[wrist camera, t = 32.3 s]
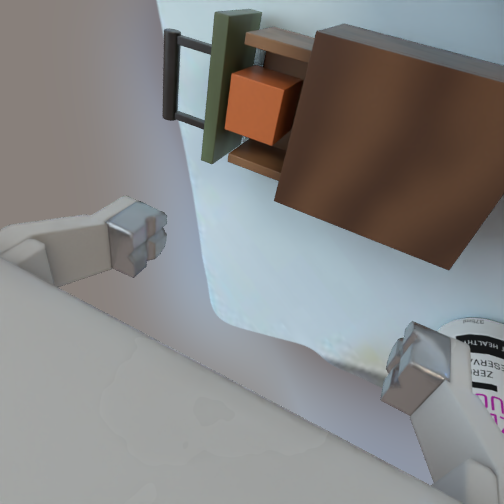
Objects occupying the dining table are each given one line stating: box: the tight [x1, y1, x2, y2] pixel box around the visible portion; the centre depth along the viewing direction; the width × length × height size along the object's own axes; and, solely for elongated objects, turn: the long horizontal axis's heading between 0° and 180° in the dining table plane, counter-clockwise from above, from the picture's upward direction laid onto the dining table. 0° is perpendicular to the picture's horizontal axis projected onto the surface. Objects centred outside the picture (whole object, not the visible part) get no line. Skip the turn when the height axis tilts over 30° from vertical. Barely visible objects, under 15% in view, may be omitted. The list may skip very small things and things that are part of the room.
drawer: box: [163, 9, 315, 181], centre depth 30 cm, size 18×11×6 cm, turn 79°
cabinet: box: [274, 24, 504, 270], centre depth 28 cm, size 15×13×8 cm
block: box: [225, 65, 303, 146], centre depth 30 cm, size 4×4×4 cm
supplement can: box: [437, 318, 504, 434], centre depth 33 cm, size 8×8×15 cm
